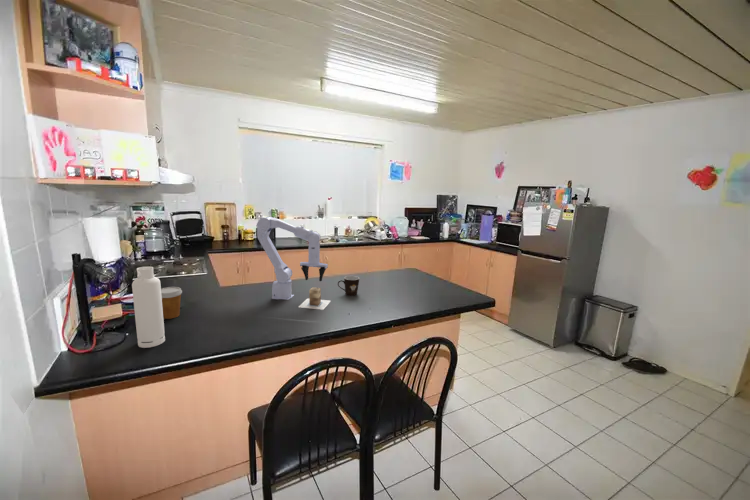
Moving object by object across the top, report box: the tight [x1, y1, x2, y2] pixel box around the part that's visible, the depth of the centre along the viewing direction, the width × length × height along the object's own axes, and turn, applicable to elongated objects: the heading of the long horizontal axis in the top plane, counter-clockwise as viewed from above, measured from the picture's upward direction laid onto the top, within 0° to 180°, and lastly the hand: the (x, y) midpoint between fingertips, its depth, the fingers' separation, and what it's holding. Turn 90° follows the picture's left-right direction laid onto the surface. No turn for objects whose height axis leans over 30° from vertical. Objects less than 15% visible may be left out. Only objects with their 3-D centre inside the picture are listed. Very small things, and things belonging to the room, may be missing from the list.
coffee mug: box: [337, 275, 360, 297], centre depth 175 cm, size 12×9×10 cm
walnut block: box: [308, 295, 322, 306], centre depth 157 cm, size 4×4×4 cm
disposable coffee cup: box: [161, 286, 183, 320], centre depth 135 cm, size 10×10×12 cm
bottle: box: [131, 266, 166, 349], centre depth 111 cm, size 8×8×28 cm
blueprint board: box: [298, 297, 331, 311], centre depth 158 cm, size 13×13×1 cm
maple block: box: [308, 286, 322, 298], centre depth 156 cm, size 4×4×4 cm
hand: (313, 280), depth 164 cm, fingers open, 7 cm apart
